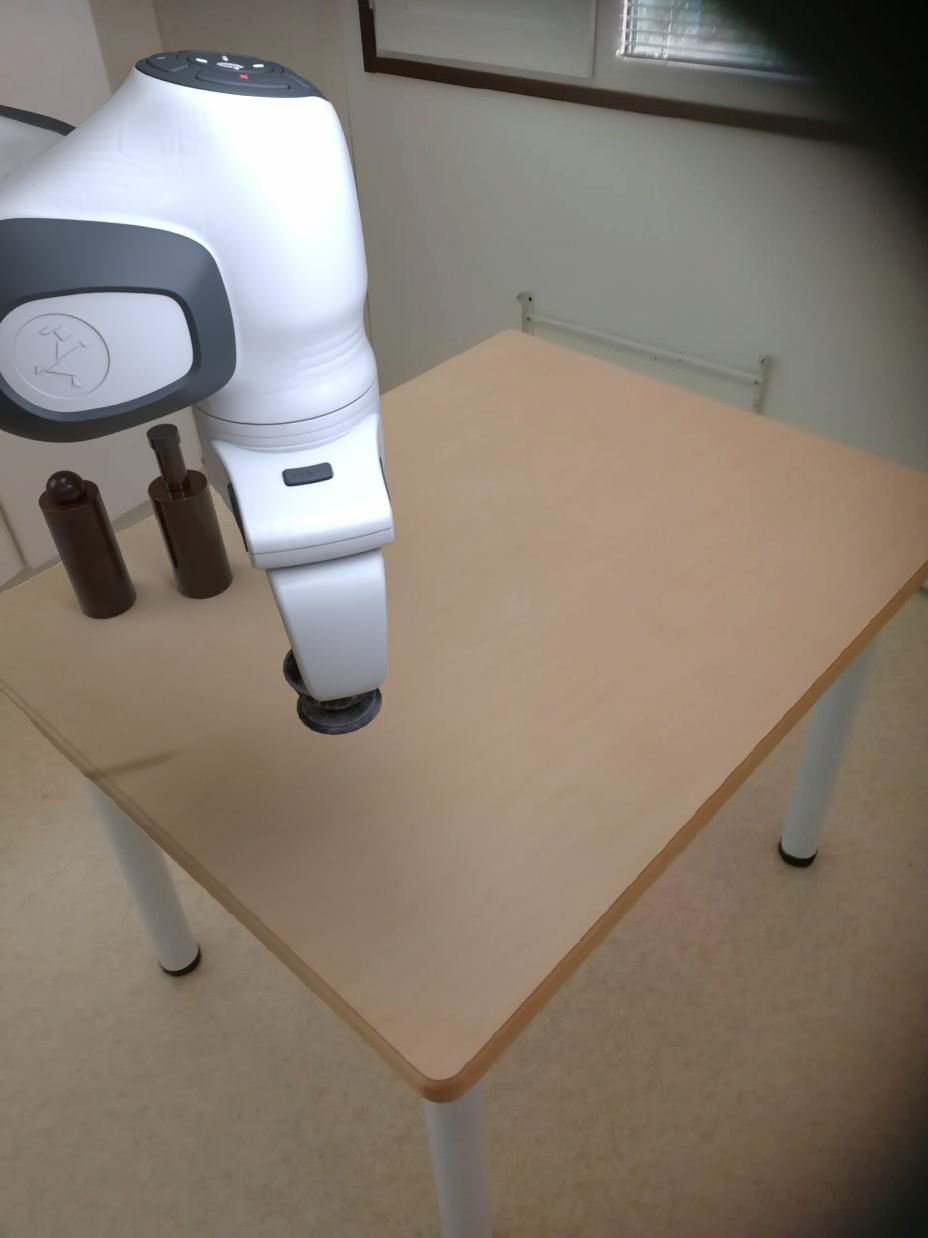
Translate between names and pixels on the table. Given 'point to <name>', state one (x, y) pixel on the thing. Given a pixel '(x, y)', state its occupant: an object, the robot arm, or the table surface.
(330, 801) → the table surface
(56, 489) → the pepper mill
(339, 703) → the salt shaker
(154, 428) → the vinegar bottle
